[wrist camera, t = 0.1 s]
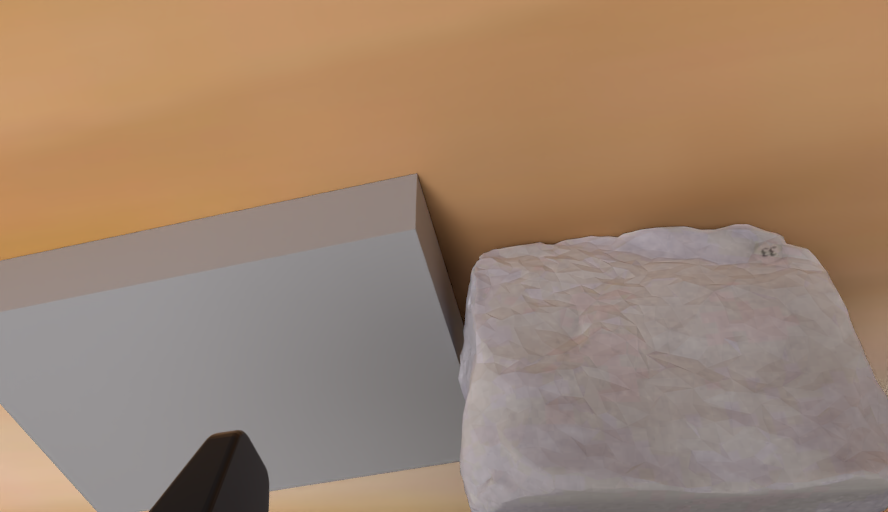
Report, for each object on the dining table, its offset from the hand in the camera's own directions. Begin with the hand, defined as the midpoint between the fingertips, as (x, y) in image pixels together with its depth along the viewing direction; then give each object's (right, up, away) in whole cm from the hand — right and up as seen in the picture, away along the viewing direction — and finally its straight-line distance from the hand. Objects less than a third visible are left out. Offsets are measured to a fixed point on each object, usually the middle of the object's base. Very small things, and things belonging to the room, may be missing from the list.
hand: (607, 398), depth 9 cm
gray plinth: (-9, -1, +20) cm, 22 cm away
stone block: (+4, +1, +18) cm, 19 cm away
